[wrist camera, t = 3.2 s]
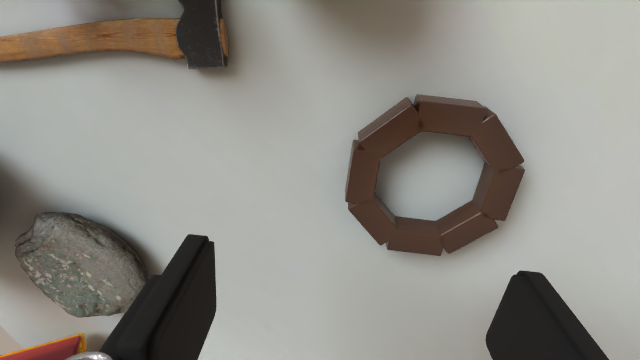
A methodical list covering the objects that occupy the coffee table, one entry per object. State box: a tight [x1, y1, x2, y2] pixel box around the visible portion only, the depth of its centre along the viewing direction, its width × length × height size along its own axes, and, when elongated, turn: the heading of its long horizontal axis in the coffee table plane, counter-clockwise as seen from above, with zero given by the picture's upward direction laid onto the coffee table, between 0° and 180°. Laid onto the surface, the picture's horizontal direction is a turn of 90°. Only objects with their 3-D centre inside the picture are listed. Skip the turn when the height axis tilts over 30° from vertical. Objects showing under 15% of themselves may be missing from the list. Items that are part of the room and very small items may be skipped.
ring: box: [345, 95, 525, 256], centre depth 19 cm, size 8×8×1 cm
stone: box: [15, 212, 149, 317], centre depth 22 cm, size 7×8×2 cm
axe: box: [0, 0, 229, 69], centre depth 17 cm, size 16×1×5 cm
